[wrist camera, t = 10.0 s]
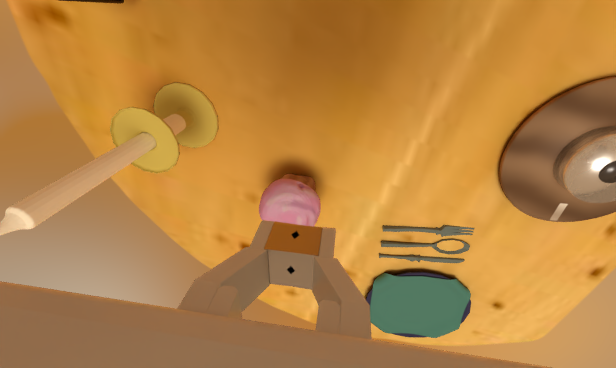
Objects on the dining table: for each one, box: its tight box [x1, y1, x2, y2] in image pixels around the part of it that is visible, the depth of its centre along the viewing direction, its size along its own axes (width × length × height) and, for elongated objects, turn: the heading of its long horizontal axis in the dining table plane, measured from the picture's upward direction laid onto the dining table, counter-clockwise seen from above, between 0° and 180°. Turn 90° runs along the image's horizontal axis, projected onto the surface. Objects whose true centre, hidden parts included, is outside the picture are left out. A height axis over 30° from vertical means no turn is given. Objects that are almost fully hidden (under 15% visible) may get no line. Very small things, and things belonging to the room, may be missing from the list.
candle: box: [0, 82, 218, 235], centre depth 30 cm, size 10×10×27 cm
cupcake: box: [259, 174, 320, 226], centre depth 41 cm, size 9×9×10 cm
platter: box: [499, 76, 616, 222], centre depth 35 cm, size 20×20×1 cm
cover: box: [553, 126, 616, 203], centre depth 33 cm, size 9×9×3 cm
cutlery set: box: [366, 225, 474, 338], centre depth 52 cm, size 20×30×2 cm, turn 3°
